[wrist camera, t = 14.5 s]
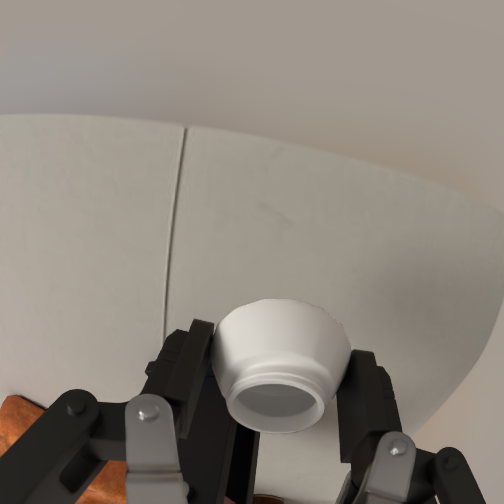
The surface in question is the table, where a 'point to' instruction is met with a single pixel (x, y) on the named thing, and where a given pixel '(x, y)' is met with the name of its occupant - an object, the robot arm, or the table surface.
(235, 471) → the bracket
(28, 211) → the table surface
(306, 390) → the white jar
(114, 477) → the bread
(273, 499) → the coffee cup
